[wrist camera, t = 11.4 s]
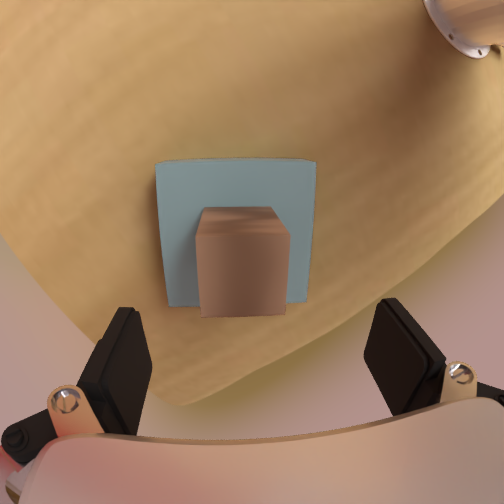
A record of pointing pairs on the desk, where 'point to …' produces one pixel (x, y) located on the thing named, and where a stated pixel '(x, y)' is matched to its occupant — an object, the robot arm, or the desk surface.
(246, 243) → the walnut block
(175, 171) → the plinth
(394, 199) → the desk surface
